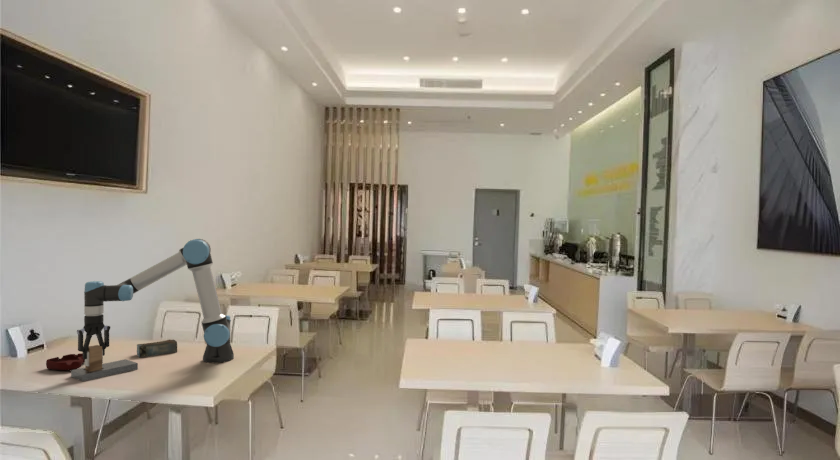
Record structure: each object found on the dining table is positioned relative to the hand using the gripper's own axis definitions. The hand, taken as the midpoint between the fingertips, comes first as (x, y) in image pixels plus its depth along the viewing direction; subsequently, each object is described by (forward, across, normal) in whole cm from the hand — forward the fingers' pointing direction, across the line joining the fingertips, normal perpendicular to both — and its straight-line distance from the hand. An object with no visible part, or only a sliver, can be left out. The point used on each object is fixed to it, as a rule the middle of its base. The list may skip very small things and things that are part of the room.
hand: (93, 364), depth 234 cm
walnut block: (+4, 0, 0) cm, 4 cm away
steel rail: (+5, -5, 0) cm, 7 cm away
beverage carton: (+6, -38, -16) cm, 42 cm away
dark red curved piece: (+6, +2, -25) cm, 25 cm away
